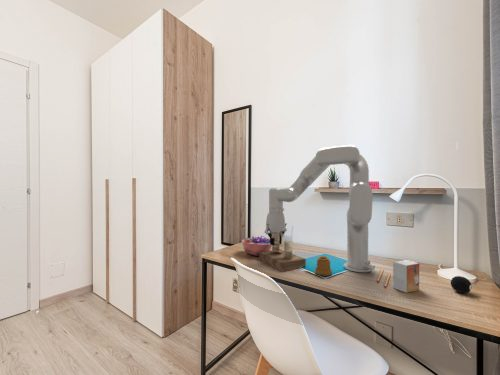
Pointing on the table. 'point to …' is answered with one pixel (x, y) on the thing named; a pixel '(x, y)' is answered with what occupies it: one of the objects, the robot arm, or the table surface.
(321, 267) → the ornamental finial
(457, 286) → the billiard ball
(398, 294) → the table surface
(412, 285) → the small box
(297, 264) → the brown block with hole
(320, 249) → the table surface
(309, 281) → the table surface
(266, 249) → the cell model
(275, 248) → the birch leg
